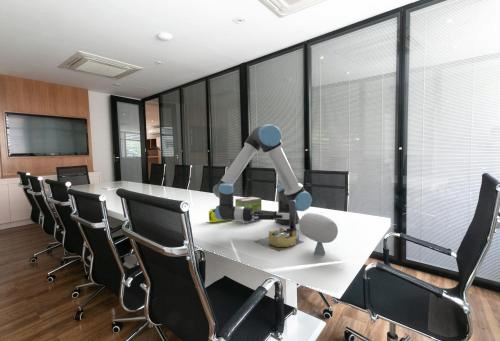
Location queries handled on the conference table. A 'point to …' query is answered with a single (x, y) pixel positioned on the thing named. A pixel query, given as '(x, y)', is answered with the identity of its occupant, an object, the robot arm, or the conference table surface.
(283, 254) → the conference table surface
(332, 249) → the conference table surface
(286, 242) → the tan base with handle
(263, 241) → the plate
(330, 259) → the conference table surface
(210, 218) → the yellow toy chassis
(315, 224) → the grey oval on stand
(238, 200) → the tea box
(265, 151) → the robot arm
